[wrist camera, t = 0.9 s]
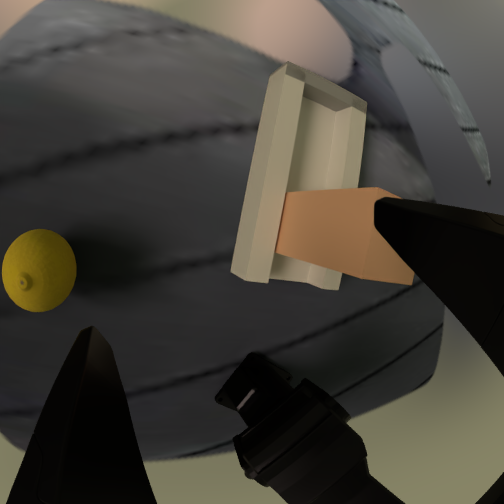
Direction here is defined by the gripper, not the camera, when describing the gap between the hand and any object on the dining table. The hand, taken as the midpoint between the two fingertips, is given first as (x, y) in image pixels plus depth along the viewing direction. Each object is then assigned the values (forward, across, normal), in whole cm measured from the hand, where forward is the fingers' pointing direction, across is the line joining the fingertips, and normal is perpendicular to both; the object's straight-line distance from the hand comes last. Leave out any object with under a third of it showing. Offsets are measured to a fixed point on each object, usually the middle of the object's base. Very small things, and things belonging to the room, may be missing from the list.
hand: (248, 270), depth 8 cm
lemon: (+16, +12, +4) cm, 20 cm away
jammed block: (+15, -8, +10) cm, 19 cm away
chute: (+17, -11, +6) cm, 21 cm away
